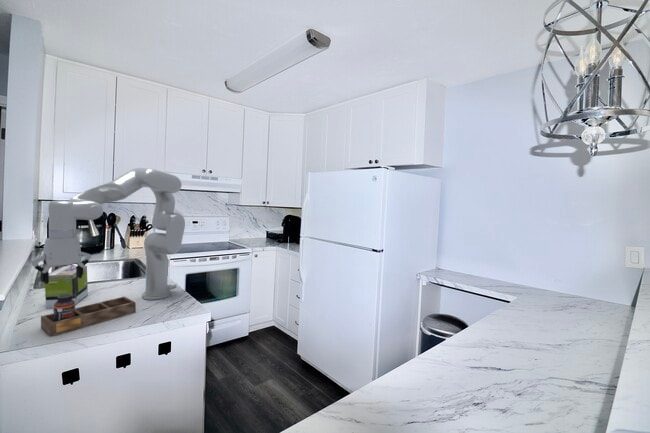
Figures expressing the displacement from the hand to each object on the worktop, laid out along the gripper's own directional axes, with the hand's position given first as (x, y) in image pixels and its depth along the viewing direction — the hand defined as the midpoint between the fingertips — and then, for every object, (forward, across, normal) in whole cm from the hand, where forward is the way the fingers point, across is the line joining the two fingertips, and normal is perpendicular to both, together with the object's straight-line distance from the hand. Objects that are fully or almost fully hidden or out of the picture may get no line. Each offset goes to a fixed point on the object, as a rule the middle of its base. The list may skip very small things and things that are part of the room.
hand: (63, 280), depth 111 cm
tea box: (+19, -10, -28) cm, 35 cm away
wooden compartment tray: (+18, -9, 0) cm, 20 cm away
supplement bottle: (+18, 0, 0) cm, 18 cm away
